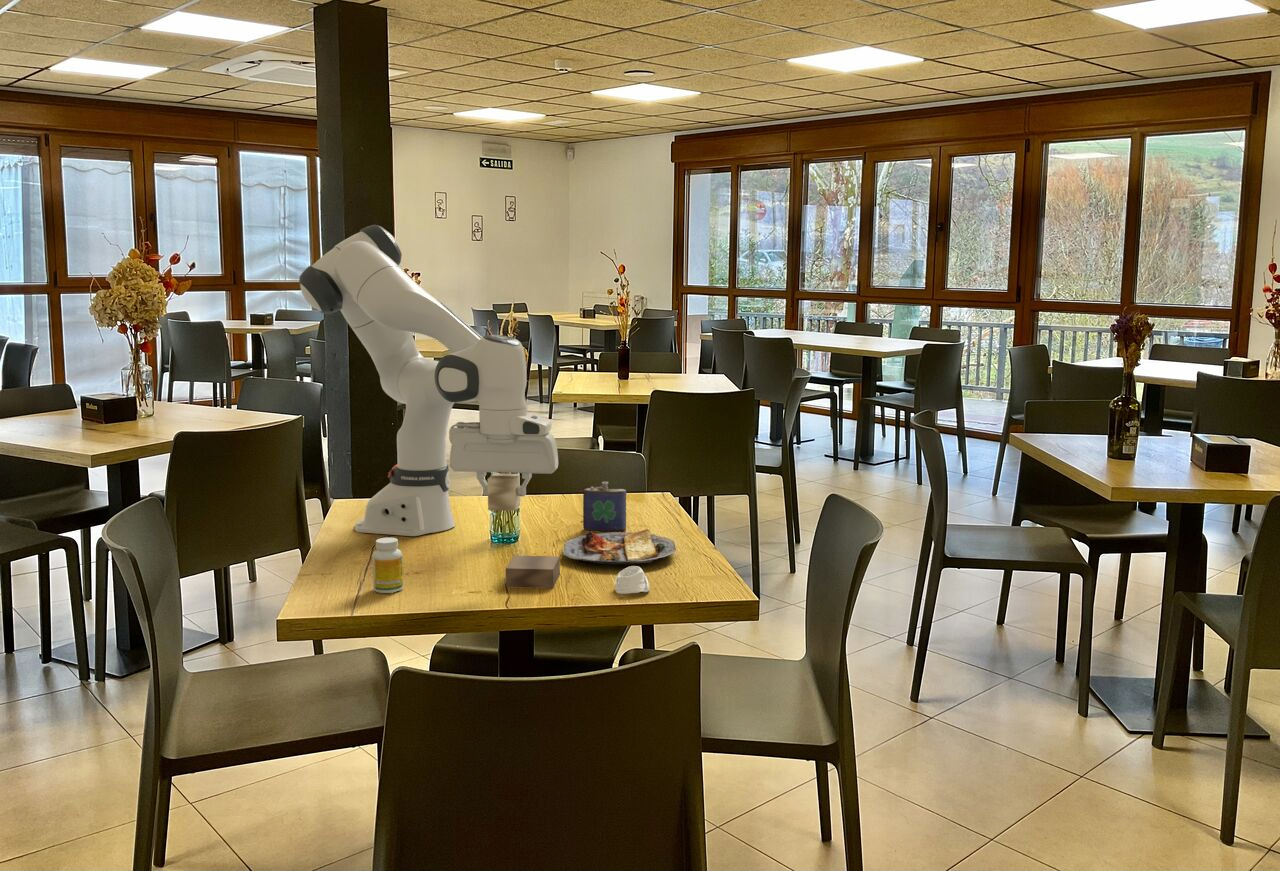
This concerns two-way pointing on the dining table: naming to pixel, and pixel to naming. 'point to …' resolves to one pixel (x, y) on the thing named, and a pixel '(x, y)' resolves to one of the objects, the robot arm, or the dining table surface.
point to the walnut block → (533, 571)
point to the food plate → (619, 547)
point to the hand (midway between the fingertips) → (504, 495)
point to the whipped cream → (631, 581)
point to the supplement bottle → (387, 566)
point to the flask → (604, 509)
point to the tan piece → (503, 492)
